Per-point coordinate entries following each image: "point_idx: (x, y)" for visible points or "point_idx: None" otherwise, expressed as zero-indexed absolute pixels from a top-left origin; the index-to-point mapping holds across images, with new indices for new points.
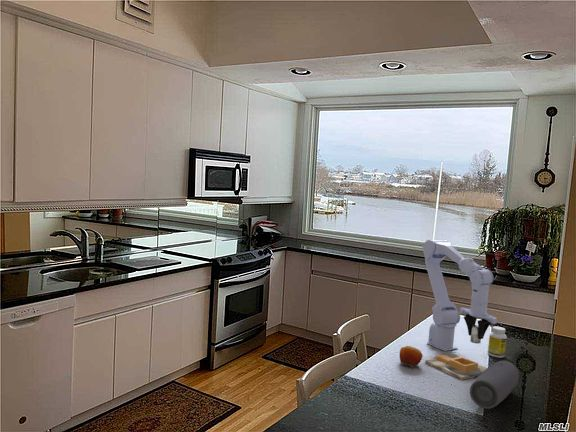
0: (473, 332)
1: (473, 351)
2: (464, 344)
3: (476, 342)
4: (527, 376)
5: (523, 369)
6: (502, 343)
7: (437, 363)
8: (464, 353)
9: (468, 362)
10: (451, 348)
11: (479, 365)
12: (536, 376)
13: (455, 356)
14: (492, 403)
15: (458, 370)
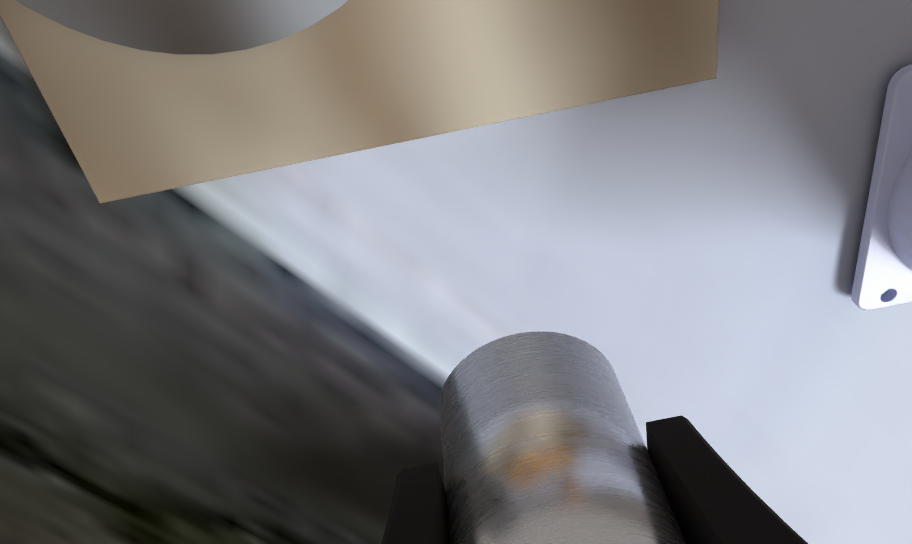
0: (554, 508)
1: (708, 407)
2: (884, 440)
3: (455, 384)
4: (20, 472)
5: (197, 535)
6: None
7: None
8: (713, 283)
9: None
10: (885, 211)
11: (250, 145)
12: (29, 535)
13: (636, 27)
14: None
15: None
